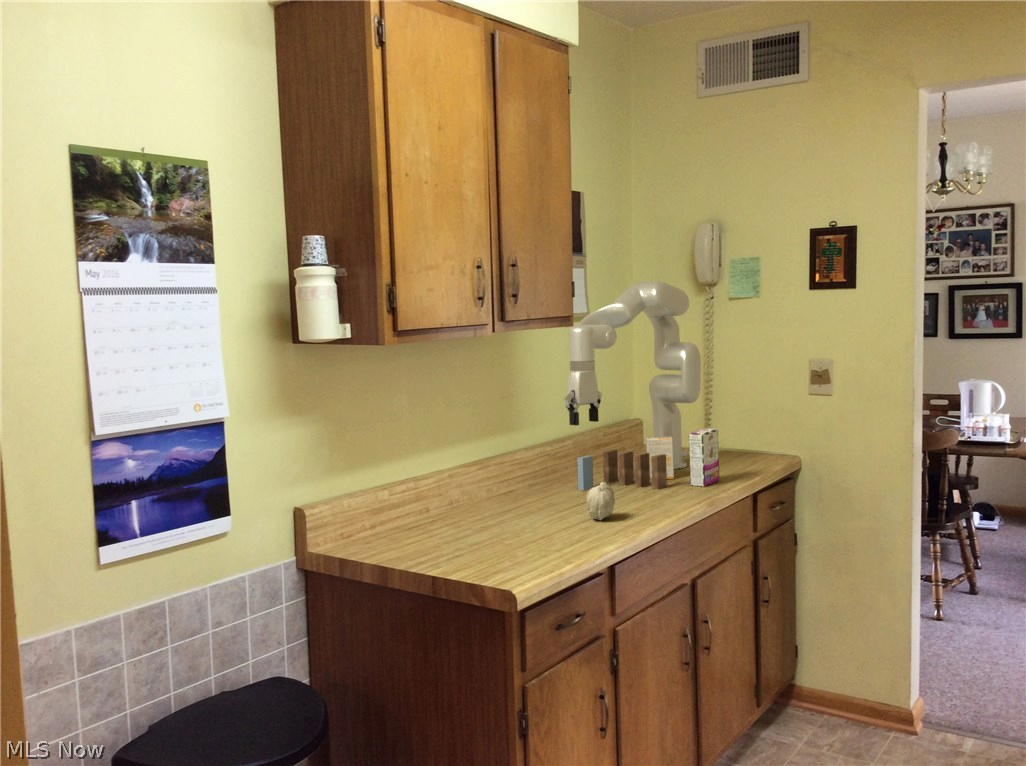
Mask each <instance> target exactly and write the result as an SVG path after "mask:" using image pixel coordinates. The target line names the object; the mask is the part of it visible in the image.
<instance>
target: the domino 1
mask: <svg viewBox="0 0 1026 766" xmlns="http://www.w3.org/2000/svg"><path fill="white" fill-rule="evenodd" d="M593 460H594V459H593V455H584V456H579V457H577V481H578V484H577V486H578V487H577V488H578V491H580V490H586V491H588V490H587V489H589V490H590V488H593V487H595V486H594V485H595V484H594V461H593Z"/></svg>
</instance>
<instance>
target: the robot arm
mask: <svg viewBox="0 0 1026 766" xmlns="http://www.w3.org/2000/svg"><path fill="white" fill-rule="evenodd" d="M689 308H690V299H689V295H688V294H687V292H685V291H684V290H682V289H680V288H678V287H676V286H674V285H671V284H669V283H667V282H663V281H656V280H655V281H640V282H635V283H632V284H630V285H629V287H628V288H626V290H624V291H623V292H622V293H621V294H620V295H619V296H618V297H617V298H616V299H615V300H614V301H612V303H610V304H607V305H605V306H602V307H601V308H600V309H597V310H595V311H593V312H591V313H589V314H587V315H586V316H585V317H583V318H582V319H581V320H580V321H579V322H578V323H577V324H576V325H575V326H571V327H570V329H569V331H568V332H569V333H568V336H569V337H568V340H569V341H568V342H569V343H568V345H569V346H568V347H569V370H570V371H569V372H568V377H567V385H566V386H567V387H566V388H567V389H566V396H565V397H564V398H563V400H564V403H565V407H566V409H567V412H568V414H569V415H568V416H569V417H568V419H569V425H570V426H579V425H580V415H579V414H580V413H579V411H578V410H579V408H580V406H585V405H588V406H589V408H588V421H589V422H593V423H595V422H596V423H597V422H599V408H600V404H601V402H602V401H601V399H602V397H603V393H602V392H600V391H599V390H598V389H599V388H598V381H597V380H598V379H597V373H596V361H595V360H596V358H595V356H596V355H595V354H596V353H595V351H596V350H608V349H610V348H612V347H613V346H614V345H615V344H616V342H617V338H618V337H617V331H616V330H615V329H618V328H619V329H620V328H622V327H625V326H628V325H629V324H631V323H632V322H633V321H634V320H635V319H636V318H637V316H639V315H640V314H641V313H642V312H643V313H644V314H645V316H646V317H647V318H648V319H649V321H650V322H651V325H652V327H653V337H654V338H653V339H654V340H653V359H654V360H653V362H654V365H655V367H656V368H657V369H658V370H663V371H680V372H681V374H673V373H672V374H671V373H669V374H667V373H665V374H662V373H661V374H657V375H655V376H654V377H652V378H651V379H650V382H649V385H648V392H649V396H650V400H651V402H650V403H651V406H652V409H651V410H652V431H653V432H652V436H653V437H671V438H672V439H673V464H674V470H677V469H678V470H679V468H680V469H684V468H686V467H687V466H688V463H687V461H684V460H683V459H685V458H687V457H688V452H686V451H683V448H682V447H683V446H682V445H683V443H682V437H683V436H682V414H681V413H682V412H681V411H680V409H679V407H678V405H677V404H694V403H696V402H697V400H698V399H699V398H700V393H701V385H702V384H701V378H702V377H701V376H702V375H701V373H702V372H701V371H702V366H701V365H702V361H701V358H702V356H701V352H700V350H699V348H698V346H697V345H696V344H695V343H694V342H689V341H683V342H681V341H680V326H679V324H678V321H677V319H676V318H675V317H678V316H680V317H681V316H683V315H684V314H686V313H687V312H688V311H689Z"/></svg>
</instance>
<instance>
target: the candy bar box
mask: <svg viewBox="0 0 1026 766" xmlns="http://www.w3.org/2000/svg"><path fill="white" fill-rule="evenodd" d="M688 449H689V451H688V453H689V470H690V471H689V472H690V473H689V474H690V475H689V476H690V478H689V479H690V486H691V485H693V486H692V487H698V486H702V487H703V488H706V487H708V486H711V485H713V484H715V483H717V482H719V481H720V461H719V460H720V459H719V456H720V455H719V453H720V451H719V429H718V428H708V427H706V428H705V427H704V428H701V429H698V430H695V431H693V432H689V433H688ZM712 483H713V484H712ZM707 485H708V486H707ZM705 486H706V487H705ZM702 487H701V488H702Z"/></svg>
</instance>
